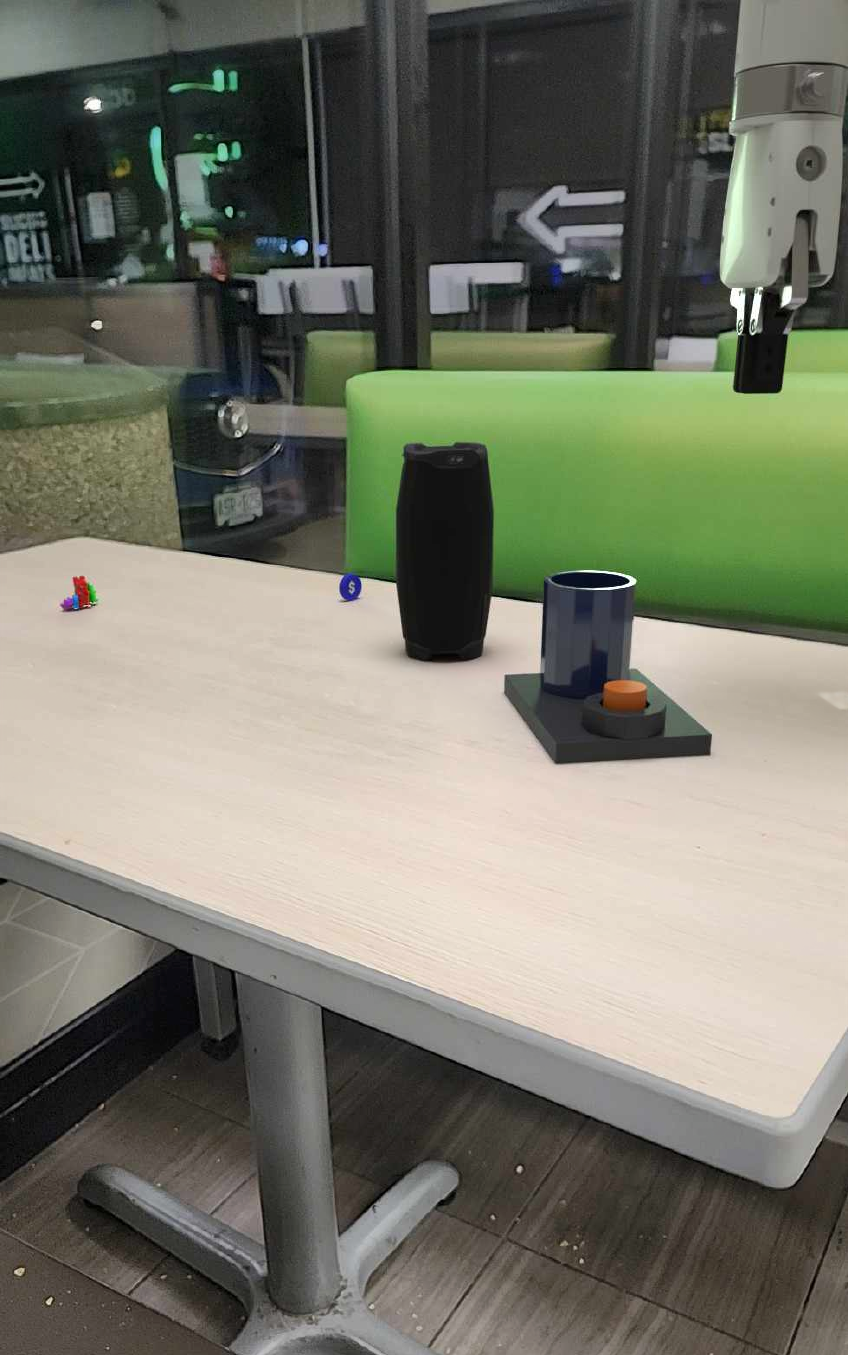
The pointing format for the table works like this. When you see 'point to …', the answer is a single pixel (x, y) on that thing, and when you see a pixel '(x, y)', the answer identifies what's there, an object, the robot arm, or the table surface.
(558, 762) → the push button base
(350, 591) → the coin
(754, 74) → the robot arm
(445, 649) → the portable speaker
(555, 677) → the blue cup
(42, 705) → the table surface
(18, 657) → the table surface
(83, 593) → the colorful small pieces
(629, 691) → the switch
